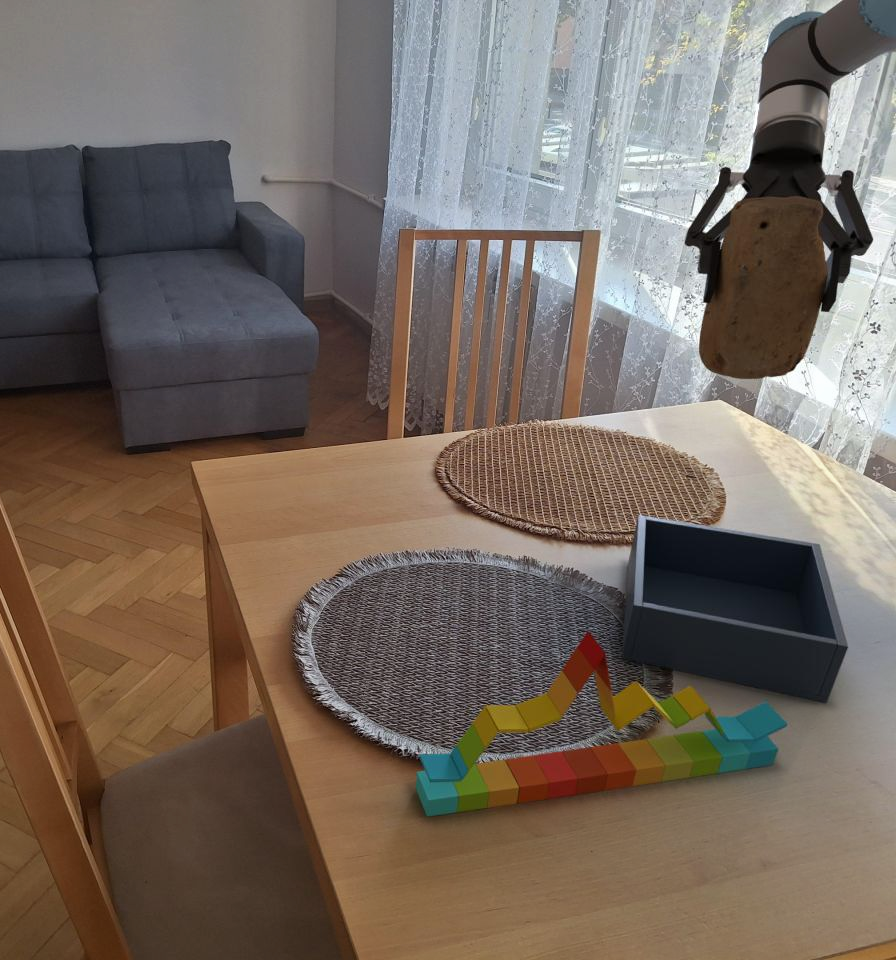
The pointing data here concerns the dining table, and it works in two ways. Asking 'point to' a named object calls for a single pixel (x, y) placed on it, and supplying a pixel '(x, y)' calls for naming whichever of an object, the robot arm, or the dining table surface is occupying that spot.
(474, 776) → the chart
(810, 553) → the grey storage tray
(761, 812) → the dining table surface
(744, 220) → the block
